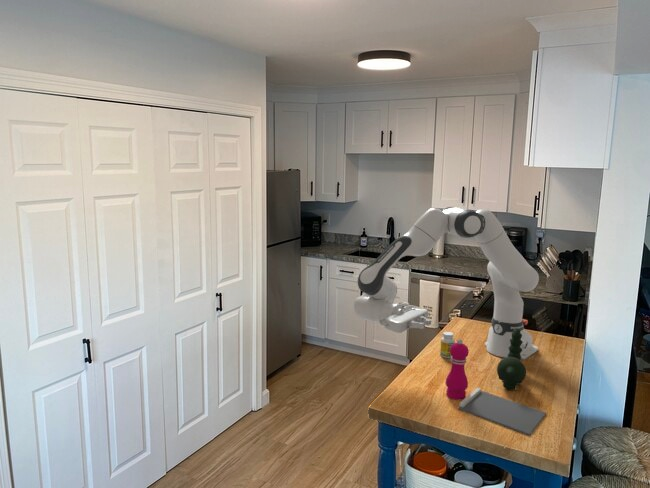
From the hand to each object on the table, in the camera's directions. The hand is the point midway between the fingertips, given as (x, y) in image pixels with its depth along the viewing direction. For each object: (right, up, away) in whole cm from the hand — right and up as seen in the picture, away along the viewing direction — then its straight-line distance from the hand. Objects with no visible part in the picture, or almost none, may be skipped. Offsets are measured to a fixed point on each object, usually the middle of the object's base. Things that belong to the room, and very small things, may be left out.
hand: (427, 324), depth 164 cm
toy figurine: (+32, -22, +7) cm, 39 cm away
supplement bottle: (+14, -18, +29) cm, 36 cm away
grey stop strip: (+13, -24, -7) cm, 28 cm away
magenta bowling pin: (+9, -23, -4) cm, 25 cm away
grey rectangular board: (+21, -25, -14) cm, 35 cm away
